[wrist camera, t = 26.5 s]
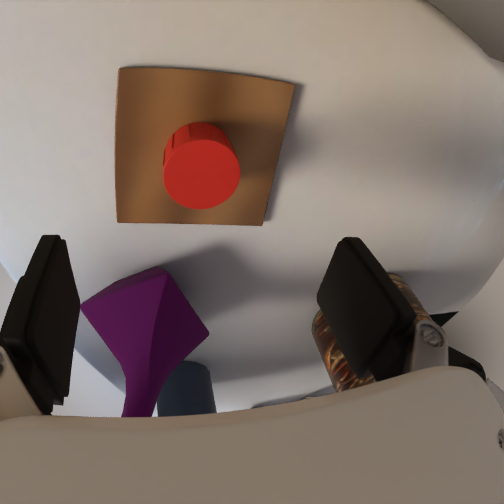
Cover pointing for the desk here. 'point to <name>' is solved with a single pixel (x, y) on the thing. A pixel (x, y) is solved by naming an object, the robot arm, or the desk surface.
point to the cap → (200, 166)
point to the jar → (332, 352)
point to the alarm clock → (478, 22)
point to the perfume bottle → (145, 332)
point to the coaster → (186, 112)
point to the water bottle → (187, 392)
